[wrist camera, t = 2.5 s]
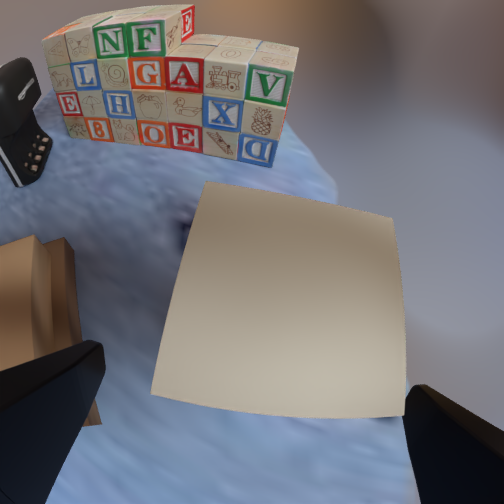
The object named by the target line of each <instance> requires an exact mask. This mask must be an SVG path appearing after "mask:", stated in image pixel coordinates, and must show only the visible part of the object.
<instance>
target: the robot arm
mask: <svg viewBox="0 0 504 504" xmlns="http://www.w3.org/2000/svg"><path fill="white" fill-rule="evenodd" d="M105 370H106V365H105V357H104V349H103V345H102V344H101V343H99V342H96V341H93V340H86V341H83V342H81V343H78V344H75V345H72V346H70V347H67V348H64V349H61V350H59V351H56V352H53V353H50V354H48V355H45V356H42V357H39V358H36V359H34V360H31V361H28V362H25V363H22V364H19V365H16V366H14V367H11V368H8V369H5V370H2V371H0V504H45V503H46V501H47V498H48V496H49V494H50V491H51V489H52V487H53V485H54V483H55V481H56V478H57V476H58V474H59V472H60V470H61V468H62V466H63V464H64V462H65V460H66V458H67V456H68V453H69V451H70V449H71V447H72V446H73V444H74V442H75V440H76V438H77V436H78V434H79V432H80V430H81V428H82V426H83V424H84V422H85V420H86V418H87V416H88V414H89V412H90V409H91V407H92V404H93V402H94V399H95V396H96V394H97V391H98V389H99V387H100V384H101V382H102V379H103V377H104V374H105ZM402 419H403V424H404V429H405V435H406V441H407V447H408V452H409V456H410V460H411V463H412V467H413V471H414V475H415V479H416V484H417V488H418V492H419V497H420V502H421V504H504V431H502V430H501V429H499V428H497V427H495V426H494V425H492V424H490V423H489V422H487V421H485V420H484V419H482V418H480V417H479V416H477V415H475V414H473V413H472V412H470V411H469V410H466V409H465V408H464V407H462V406H460V405H459V404H457V403H455V402H454V401H452V400H450V399H449V398H447V397H445V396H444V395H442V394H440V393H439V392H437V391H435V390H434V389H432V388H430V387H429V386H428V385H425V384H420V385H414V386H413V387H412V388H411V390H410V392H409V393H408V395H407V397H406V399H405V410H404V415H403V416H402Z"/></svg>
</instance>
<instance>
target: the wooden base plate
mask: <svg viewBox="0 0 504 504" xmlns="http://www.w3.org/2000/svg"><path fill="white" fill-rule="evenodd" d="M42 245H43V246H44V247H45V248H46V249H47V251H48V252H49V253H50V254H51V302H52V320H53V332H54V342H55V351H59V350H61V349H64V348H67V347H70V346H72V345H75V344H78V343H81V342H83V340H82V334H81V327H80V319H79V311H78V303H77V292H76V280H75V263H74V250H73V249H72V247H71V246H70V245H69V243H68V242H67V240H66V239H65V238H64V237H63V238H60V239H57V240H54V241H51V242H48V243H45V244H42ZM100 424H102V422H101V419H100V415H99V412H98V408H97V405H96V401H95V399H94V402H93V404H92V407H91V409H90V412H89V414H88V416H87V418H86V420H85V422H84V424H83V426H82V427H85V426H93V425H100Z"/></svg>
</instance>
